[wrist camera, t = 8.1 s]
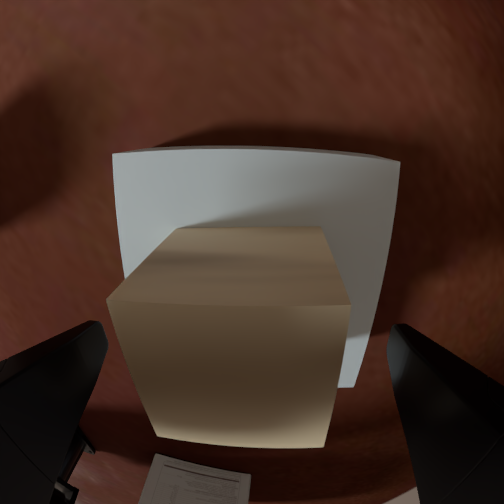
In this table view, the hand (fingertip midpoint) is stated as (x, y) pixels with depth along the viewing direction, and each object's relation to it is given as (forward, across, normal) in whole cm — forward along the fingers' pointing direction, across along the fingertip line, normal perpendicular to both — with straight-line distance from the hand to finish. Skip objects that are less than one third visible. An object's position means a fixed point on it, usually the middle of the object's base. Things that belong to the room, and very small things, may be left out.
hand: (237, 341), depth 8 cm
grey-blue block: (+7, 0, 0) cm, 7 cm away
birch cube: (+3, 0, 0) cm, 3 cm away
